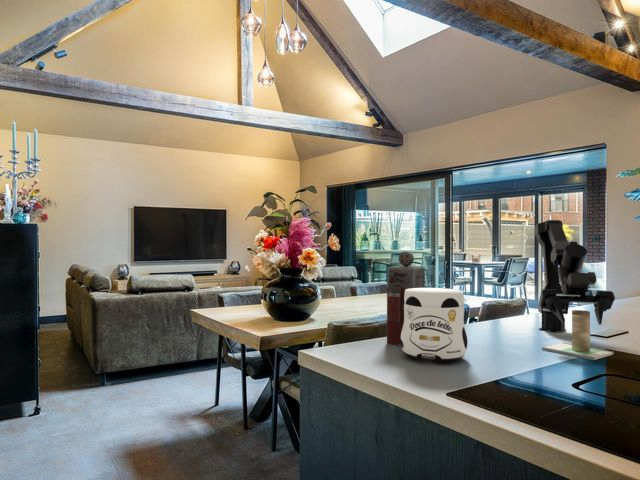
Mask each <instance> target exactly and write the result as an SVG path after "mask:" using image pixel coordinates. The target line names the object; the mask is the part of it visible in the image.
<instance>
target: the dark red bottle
mask: <svg viewBox="0 0 640 480" xmlns="http://www.w3.org/2000/svg"><path fill="white" fill-rule="evenodd" d="M414 260H415V257H414V255H413V253H412V252H411V251H402V252H400V253H399V255H398V262H399V264H400V265H394V266H389V267H387V270H386V344H388V345H389V344H390V345H395V346H396V345H397V346H401V332H402V328H403V324H404V304H405V303H404V295H405V290H406V289H411V288H426V268H425V266H421V265H420V266H417V265H416V266H415V265H412V264H413V262H414Z"/></svg>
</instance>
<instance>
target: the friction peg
mask: <svg viewBox="0 0 640 480" xmlns="http://www.w3.org/2000/svg"><path fill="white" fill-rule="evenodd" d="M571 344H572V350H573V351H577V352H590V347H591V311H589V310H582V309H581V310H577V309H573V310H571Z"/></svg>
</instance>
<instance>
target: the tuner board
mask: <svg viewBox="0 0 640 480" xmlns="http://www.w3.org/2000/svg"><path fill="white" fill-rule="evenodd" d="M541 350H542V351H546V350H547V352H551V353H556V354H561V355H565V356H570V357H576V358H582V359H585V360H589V361H595V360H596V361H597V360H598V359H603V358H606V357H610V356H613V355H614V354H615V351H612V350H611V351H610V350H606V349H600V348H595V347H591V346H590V352H577V351H573V350H572V343H567V342H563V341H562V342H561V343H556V344H552V345H548V346H543V347H541Z"/></svg>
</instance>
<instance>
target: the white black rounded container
mask: <svg viewBox="0 0 640 480" xmlns="http://www.w3.org/2000/svg"><path fill="white" fill-rule="evenodd" d="M404 303H405V304H404V324H403V328H402V332H401V345H400V346H401V350H402V352H403V353H404V354H405V355H406V356H408V357H410V358H413V359H416V360H419V361H425V362H434V363H445V362H453V361H457V360H460V359H463V357H465V356H466V353H467V348H468V337H467V336H468V335H467V332H466V328H465V320H464V319H465V306H464V305H465V298H464V291H463V290H460V289H453V288H443V287H425V288H411V289H406V290H405V295H404Z"/></svg>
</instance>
